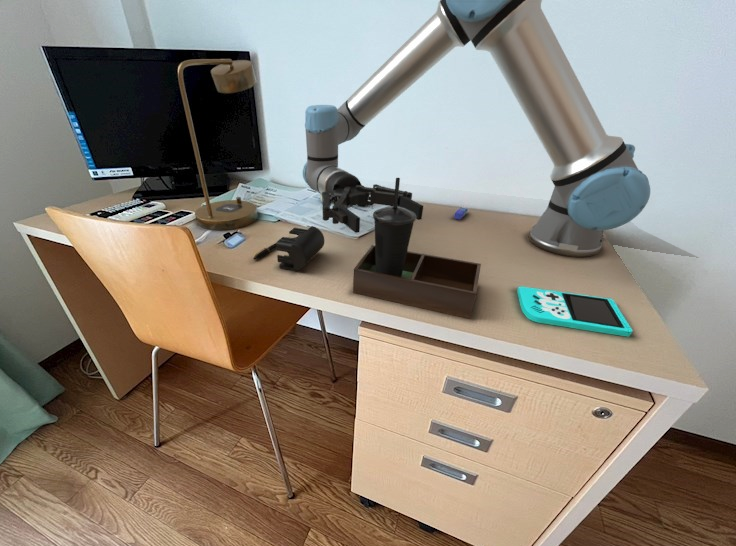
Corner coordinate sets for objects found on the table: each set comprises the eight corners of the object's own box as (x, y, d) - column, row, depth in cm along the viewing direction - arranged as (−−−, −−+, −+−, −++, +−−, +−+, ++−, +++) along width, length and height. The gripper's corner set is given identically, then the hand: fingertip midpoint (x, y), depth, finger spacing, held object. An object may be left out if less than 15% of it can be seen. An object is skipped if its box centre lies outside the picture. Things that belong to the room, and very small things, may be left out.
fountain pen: (289, 238, 88) (288, 232, 88) (292, 239, 88) (292, 233, 87) (251, 261, 78) (250, 255, 77) (255, 262, 78) (254, 256, 77)
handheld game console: (516, 290, 67) (518, 284, 67) (610, 303, 64) (613, 297, 63) (523, 320, 60) (526, 314, 59) (631, 337, 56) (635, 331, 55)
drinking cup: (407, 292, 65) (421, 185, 54) (367, 288, 67) (372, 183, 55) (408, 272, 71) (421, 173, 60) (371, 269, 73) (377, 171, 61)
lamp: (285, 202, 111) (272, 58, 89) (233, 234, 91) (200, 57, 69) (241, 196, 117) (219, 59, 95) (183, 224, 96) (138, 58, 75)
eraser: (467, 214, 101) (468, 207, 100) (460, 220, 97) (461, 213, 96) (460, 212, 102) (461, 206, 101) (453, 218, 98) (454, 212, 97)
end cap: (306, 275, 73) (305, 246, 69) (277, 269, 75) (274, 240, 71) (325, 254, 81) (324, 227, 77) (298, 249, 83) (296, 223, 79)
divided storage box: (370, 266, 76) (372, 244, 73) (475, 287, 69) (481, 263, 66) (352, 292, 67) (353, 269, 64) (469, 318, 60) (476, 293, 57)
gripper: (385, 196, 85) (441, 226, 69) (289, 212, 77) (328, 250, 61) (387, 164, 81) (447, 189, 65) (286, 177, 72) (328, 209, 56)
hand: (390, 219), depth 63 cm, fingers open, 13 cm apart
